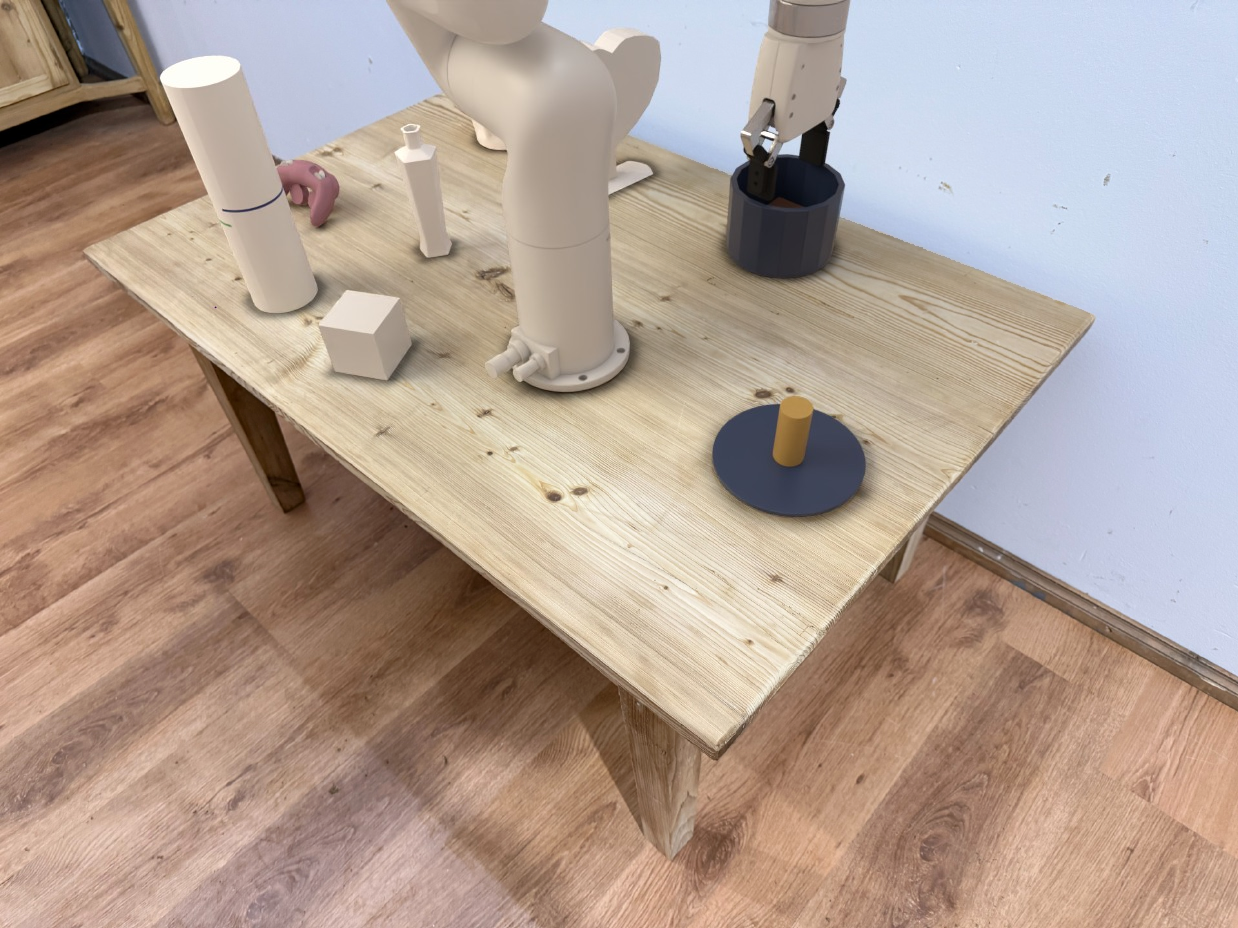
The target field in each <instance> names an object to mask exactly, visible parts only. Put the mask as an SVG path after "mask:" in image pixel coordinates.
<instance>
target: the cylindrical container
mask: <svg viewBox="0 0 1238 928" xmlns="http://www.w3.org/2000/svg"><path fill="white" fill-rule="evenodd" d="M159 80H160V82H161V84H162V87H163V89H164V92H165V94H166V96H167V99H168V101H169V104H170V106H171V108H172V111H173V114H174V116H175V118H176V121H177V123H178V125H179V128H180V130H181V132H182V135H183V137H184V140H185V143H186V144H187V147H188V149H189V152H190V154H191V156H192V159H193V161H194V164H195V166H196V168H197V171H198V173H199V176H200V178H201V180H202V183H203V186H204V188H205V190H206V193H207V195H208V197H209V200H210V202H211V205H212V207H213V209H214V211H215V214H216V217H217V218H218V221H219V224H220V225H221V228H222V231H223V233H224V235H225V238H226V240H227V243H228V244H229V247H230V250H231V252H232V254H233V257H234V259H235V261H236V264H237V267H238V269H239V271H240V273H241V275H242V278H243V281H244V283H245V286H246V288H247V290H248V293H249V295H250V297H251V300H252V302H253V304H254V306H255V307H256V308H257V309H258V310H260V311H261V312H265V313H267V314H268V313H269V314H284V313H290V312H293V311H296V310H298V309H301V308H303V307H305V306H306V305H308V304H309V303H310V302H312V301H313V300H314V299H315V297H316V296H317V294H318V285H317V282H316V279H315V276H314V273H313V270H312V267H311V265H310V261H309V259H308V255H307V253H306V250H305V247H304V244H303V241H302V238H301V235H300V233H299V230H298V227H297V224H296V221H295V218H294V215H293V213H292V209H291V205H290V203H289V201H288V197H287V196H286V195H285V192H284V189H283V186H282V183H281V180H280V177H279V174H278V172H277V169H276V168H277V166H276V163H275V160H274V157H273V155H272V152H271V148H270V145H269V143H268V139H267V137H266V134H265V132H264V129H263V125H262V122H261V120H260V117H259V114H258V111H257V108H256V105H255V103H254V99H253V96H252V94H251V91H250V88H249V85H248V82H247V79H246V77H245V73H244V70H243V67H242V65H241V63H240V61H239V60H237V58H234V57H231V56H228V55H227V56H226V55H204V56H197V57H192V58H188V59H185V60H181V61H179V62H176V63H174V64H172V65H169V67H167V68H166V69H164V70H163V71H162V72H161V74H160V75H159Z"/></svg>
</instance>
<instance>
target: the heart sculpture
mask: <svg viewBox="0 0 1238 928" xmlns="http://www.w3.org/2000/svg"><path fill="white" fill-rule="evenodd" d="M578 41H580V42H582V43H583V44H584V45H586V46H587V47H588V48H589V49H591V50H592V51H593V52H594V53H595V54H596V55H597V56H598V57H599V58H600V60H601V61H602V62H603V63H604V65H605V66H606V68H607V70H608V71H609V73H610V75H611V77H612V80H613V83H614V87H615V91H616V100H617V109H616V119H615V126H614V131H613V137H612V143H611V150H610V158H609V175H608V193H609V196H610V195H611V194H614V193H617V192H618V191H620V190H622V189H625V188H627V187H629V186H631V185H633V184H635V183H637V182H639V181H641V180H644V179H645V178H648V177H650V176H652V175H654V172H653V170H652V169H651V167H650V166H649V165H648V164H646V163H644V162H639V161H634V160H627V161H625V162H622V163H620V164H618V165H617V149H618V148H619V146H621V144H622V142H623V141H624V140H625V138H626V137H627V136H628V134H630V132H631V131H632V130H633V128H634V127H635V126H636V125H637V124H638V122H639V121H640V119H641V118H642V116H643V114H644V113H645V111H646V110H647V108H648V107H649V106H650V103H651V101H652V98H653V96H654V94H655V91H656V89H657V86H658V83H659V79H660V73H661V72H660V71H661V65H662V64H661V62H662V51H661V44H660V41H659V40H658V39H657V38H655V37H654V36H653V35H650V34H648V33H646V32H642V31H640V30H639V29H636V28H632V27H625V26H623V27H613V28H610V29H606V30H605V31H604V32H603V33H601V34H600V35H599V37H598V38H597V39H596V41H594V43H590V42H588V41H586V40H581V39H580V40H579V39H578Z"/></svg>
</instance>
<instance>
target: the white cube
mask: <svg viewBox="0 0 1238 928" xmlns="http://www.w3.org/2000/svg"><path fill="white" fill-rule="evenodd" d="M317 326H318V329H319V332H320V335H321V337H322V340H323V343H324V346H325V349H326V352H327V354H328V357H329V360H330V363H331V365H332V369H333V372H335V373H340V374H347V375H352V376H358V377H363V378H364V377H365V378H370V379H371V378H372V379H376V380H381V381H388V380H390V378H391V376H392V374H393V373H394V372H395V370H396V369H397V368H398V366H399V364H400V363H401V361H402V360H403V358H404V357H405V356H406V354H407V353H408V351H409V349H411V347H412V345H413V342H412V339H411V334H410V331H409V327H408V324H407V319H406V316H405V312H404V308H403V304H402V301H401V298H400V297H397V296H391V295H390V296H389V295H384V294H376V293H370V292H364V291H363V292H362V291H356V290H351V289H350V290H349V289H346V290H345V291H344V293H342V295H341V296H340V297H339V298H338V300H337V301H336V302H335V304H334V305H333V306H332V307H331V309H330V310H329V311H328V313H326V315H325V316H324V317H323V319H321V321H320V322H319V323H318V325H317Z"/></svg>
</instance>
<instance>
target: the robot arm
mask: <svg viewBox="0 0 1238 928" xmlns="http://www.w3.org/2000/svg"><path fill="white" fill-rule="evenodd" d="M549 1H550V0H385V3H386V4H387V5H388V7H389V9H390V10H391V12H392V14H393V15H394V17H395V18H396V20H397V22H398V23H399V25H400V27H401V28H402V30H403V31H404V33H405V35H406V36H407V38H408V40H409V42H410V43H411V45H412V46H413V49H414V50H415V51H416V53H417V55H418V56H419V58H420V59H421V61H422V62H423V64H424V66H425V67H426V69H427V70H428V72H429V74H430V76H431V77H432V78H433V80H434V81H435V83H436V85H437V86H438V87H439V89H440V90H441V91H442V93H443V94H444V96H445V97H446V98H447V99H448V100H449V102H451V104H453V105H454V106H455V108H457V109H458V110H460V112H461V113H463V114H465V115H466V116H468V118H470V119H471V118H472V119H473V120H475V121H476V122H478V123H479V124H481V125H482V126H484V127H485V128H487V129H488V130H489V131H490V132H491V133H493V134H494V135H496V136H497V137H499V138H500V139H501V140H502V141H503V142H504V144H505V146H506V149H507V150H506V152H507V163H506V168H505V172H504V176H503V180H502V185H501V210H502V216H503V217H502V218H503V224H504V228H505V229H504V230H505V235H506V241H507V243H506V244H507V248H508V256H509V262H510V270H511V276H512V284H513V290H514V291H513V292H514V296H515V305H516V311H517V318H518V325H516V326H514V327H513V328H512V329H511V330H510V331H511V337H510V339H509V341H508V344H507V345H506V350H505V351H503V352H501V353H497V354H496V355H495V356H493V357H491V358H490V359H489V360H487V361H486V362H484V369H485V371H486V373H487V374H488V376H489V377H490V378H492V379H493V380H497V379H499V378H500V377H502V376H504V375H505V374H506V373H508V372H509V371H510V370H512V375H513V377H514V379H515V380H516V381H517V382H519V383H522V382H526V383H527V384H529V385H530V386H533V387H536V388H538V389H541V390H544V391H545V390H546V391H551V392H561V393H571V392H580V391H585V390H589V389H590V390H591V389H593V388H595V387H598V386H599V387H600V386H601V385H603V384H605V383H607V382H609V381H610V380H612V379H613V378H615V377H616V376H617V375H618V374H619V373H620V372H621V371H622V370H623V369H625V366H626V365H627V363H628V361H629V358H630V353H631V341H630V336H629V334H628V332H627V330H626V328H625V327H624V326H623V325H622V324H621V322H620V321H618V320H617V319H616V318H614V296H613V272H612V247H611V224H610V220H611V219H610V202H609V201H610V199H609V197H610V195H609V193H608V175H609V158H610V150H611V143H612V137H613V131H614V126H615V119H616V109H617V100H616V91H615V87H614V83H613V80H612V77H611V75H610V73H609V71H608V70H607V68H606V66H605V65H604V63H603V62H602V61H601V60H600V58H599V57H598V56H597V55H596V54H595V53H594V52H593V51H592V50H591V49H589V48H588V47H587V46H586V45H584V44H583V43H582V42H580V41H581V40H580V41H579V39H577V38H575V37H574V36H571V35H570V34H568V33H566V32H563V31H561V30H560V29H558V28H556V27H553V26H551V25H550V24H548V23H546V22H544V21H543V19H544V17H545V15H546V13H547V9H548V5H549ZM850 6H851V0H769V5H768V16H767V27H766V28H767V31H766V32H765V33H764V34H763V37H762V41H761V44H760V47H759V51H758V56H757V60H756V65H755V70H754V74H753V81H752V89H751V93H750V99H749V109H748V116H747V123H746V124H745V126H744V127H743V129H742V130H741V131H740V134H739V135H740V140H741V144H742V146H743V149H742V151H743V153H744V154H745V155H746V160H747V161H748V160H750V163H749V173H748V184H747V191H748V192H749V193H750V194H753V195H755V196H757V197H760V198H762V199H765V200H767V201H770V200H772V199H773V198H774V192H775V184H776V176H777V168H778V165H776V164H774V162H775V160H776V158H777V156H778V155H780V151H781V149H782V147H783V145H784V144H786V143H789V142H791V141H792V140H794V139H796V138H798V137H799V136H801V137H800V143H799V144H800V145H799V151H798V156H799V159H800V160H802V161H805V162H808V163H810V164H813V165H816V166H818V167H822V166H823V165H824V164H825V163H826V162H827V161H826V160H827V155H828V148H829V141H830V136H831V131H832V129H833V128H834V125H835V117H834V116H835V115H836V113H837V111H838V109H839V108H840V105H841V98H842V95H843V92H844V90H845V88H846V85H847V81H848V80H847V78H846V77H843V76H841V75H842V68H843V59H844V58H843V57H844V48H845V47H844V46H845V34H846V31H847V24H848V19H849V12H850ZM770 127H771V128H773V129H775V132H777V133H774V132H772V131H769V129H770ZM765 140H767V141H771V142H772V143H771V145H770V148H769V149H768V151H767V150H766V148H765V147H764V146H763V144H764V142H765Z"/></svg>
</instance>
